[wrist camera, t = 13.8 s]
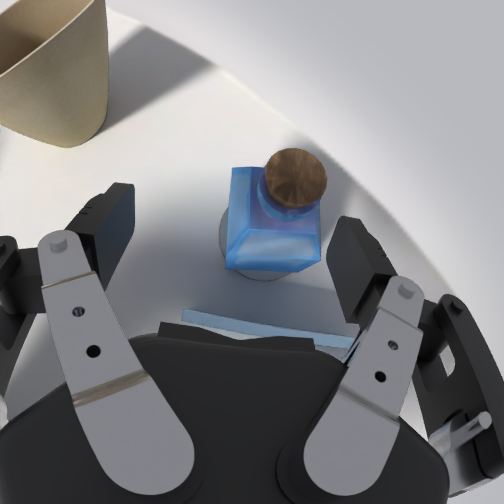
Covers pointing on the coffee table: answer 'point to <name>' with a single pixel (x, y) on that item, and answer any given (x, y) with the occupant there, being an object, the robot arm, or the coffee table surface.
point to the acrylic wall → (262, 329)
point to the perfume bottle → (276, 213)
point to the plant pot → (54, 69)
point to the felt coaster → (247, 273)
